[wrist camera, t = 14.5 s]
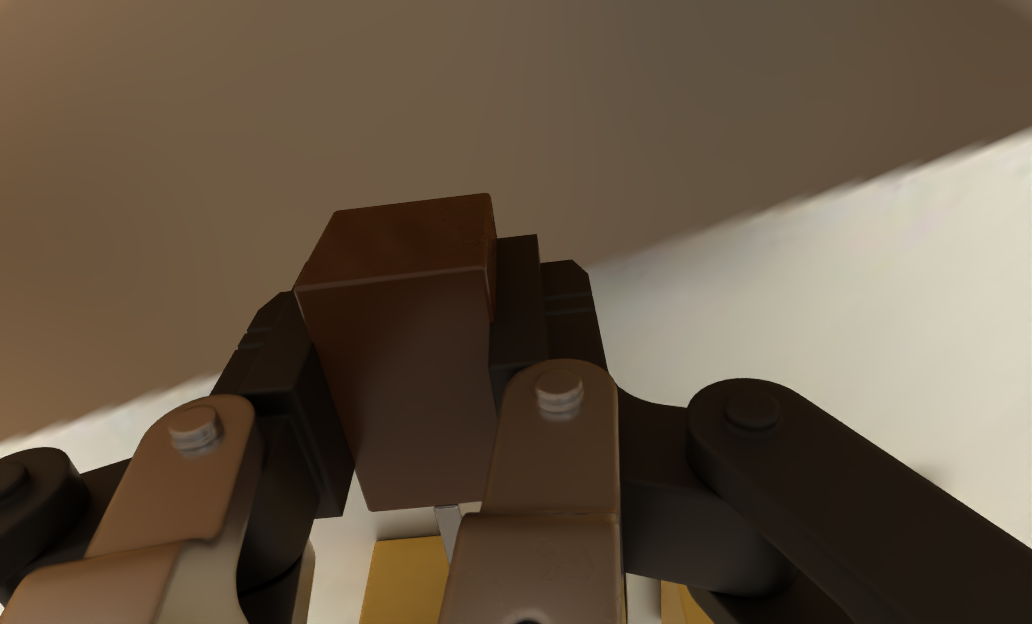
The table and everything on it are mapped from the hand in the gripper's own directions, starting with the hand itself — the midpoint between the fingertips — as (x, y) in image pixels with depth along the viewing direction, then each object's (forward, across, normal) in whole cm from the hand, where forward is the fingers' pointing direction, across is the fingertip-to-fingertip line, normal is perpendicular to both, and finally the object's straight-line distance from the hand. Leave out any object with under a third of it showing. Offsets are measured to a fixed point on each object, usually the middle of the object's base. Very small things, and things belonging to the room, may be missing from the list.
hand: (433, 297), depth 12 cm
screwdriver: (0, 0, +5) cm, 5 cm away
